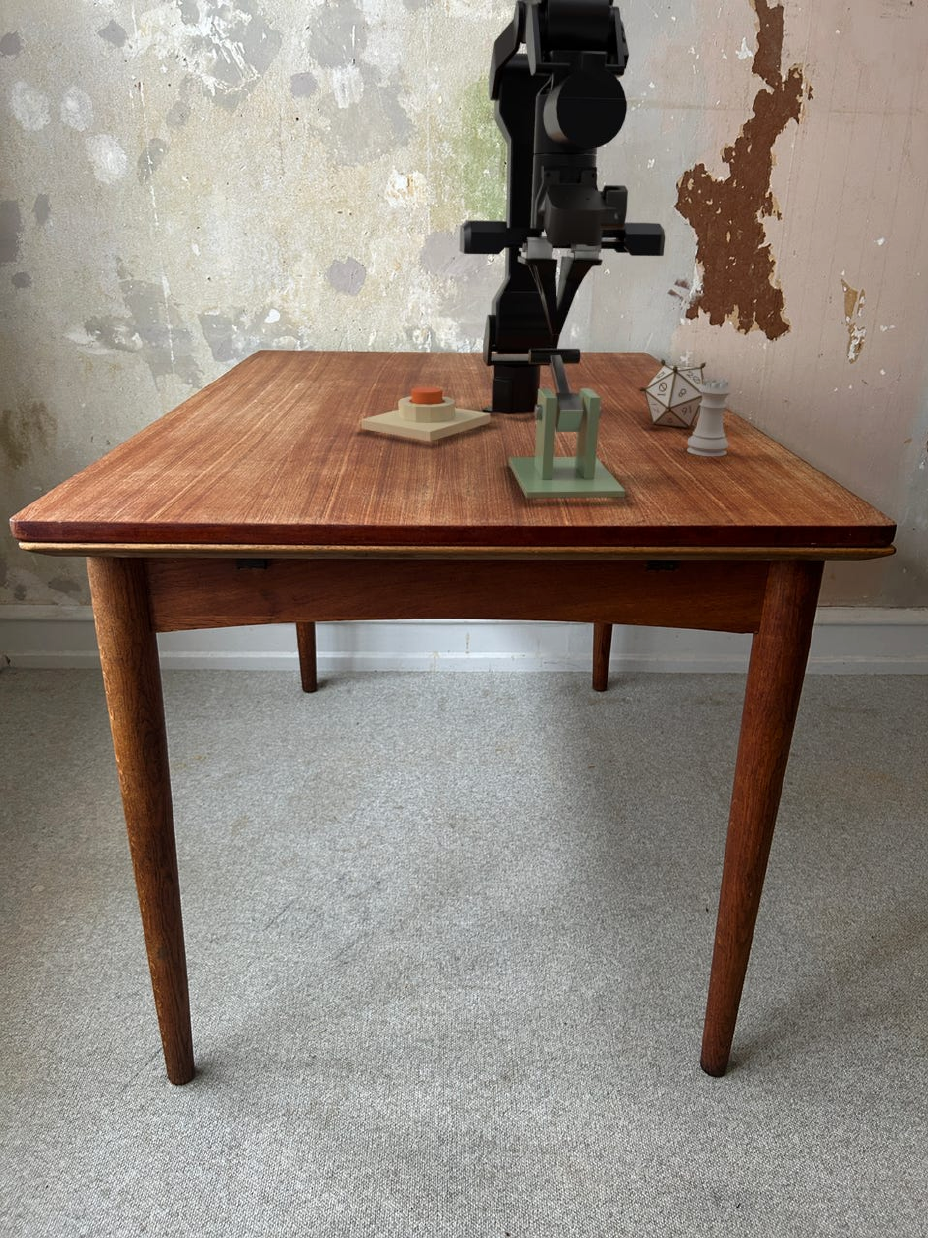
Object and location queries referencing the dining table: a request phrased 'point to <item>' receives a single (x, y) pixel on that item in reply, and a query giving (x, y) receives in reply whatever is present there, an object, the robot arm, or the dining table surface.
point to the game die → (675, 395)
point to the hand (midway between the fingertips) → (555, 333)
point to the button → (426, 395)
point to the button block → (426, 420)
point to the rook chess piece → (710, 420)
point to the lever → (561, 386)
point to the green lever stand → (565, 473)
